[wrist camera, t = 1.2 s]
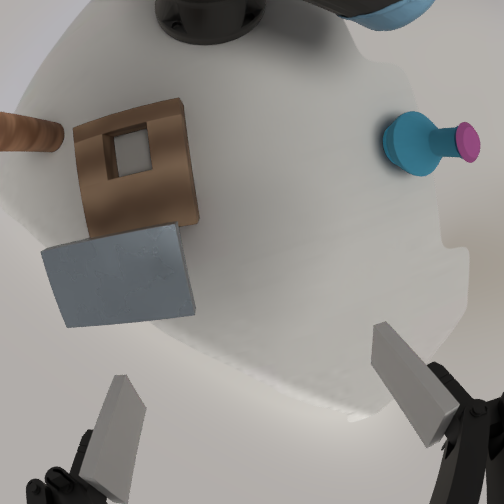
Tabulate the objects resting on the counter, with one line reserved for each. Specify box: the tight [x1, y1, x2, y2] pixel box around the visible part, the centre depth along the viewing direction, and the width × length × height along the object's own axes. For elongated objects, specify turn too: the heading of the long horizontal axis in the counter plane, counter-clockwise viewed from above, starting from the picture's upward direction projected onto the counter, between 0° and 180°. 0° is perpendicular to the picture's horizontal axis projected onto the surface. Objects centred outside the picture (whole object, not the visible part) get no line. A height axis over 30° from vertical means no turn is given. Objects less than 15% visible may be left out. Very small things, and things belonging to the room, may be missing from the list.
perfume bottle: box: [383, 111, 480, 176], centre depth 28 cm, size 9×9×15 cm
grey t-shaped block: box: [41, 221, 196, 328], centre depth 27 cm, size 7×12×17 cm, turn 97°
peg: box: [0, 112, 64, 152], centre depth 23 cm, size 4×4×14 cm
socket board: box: [73, 98, 200, 238], centre depth 31 cm, size 15×14×4 cm
